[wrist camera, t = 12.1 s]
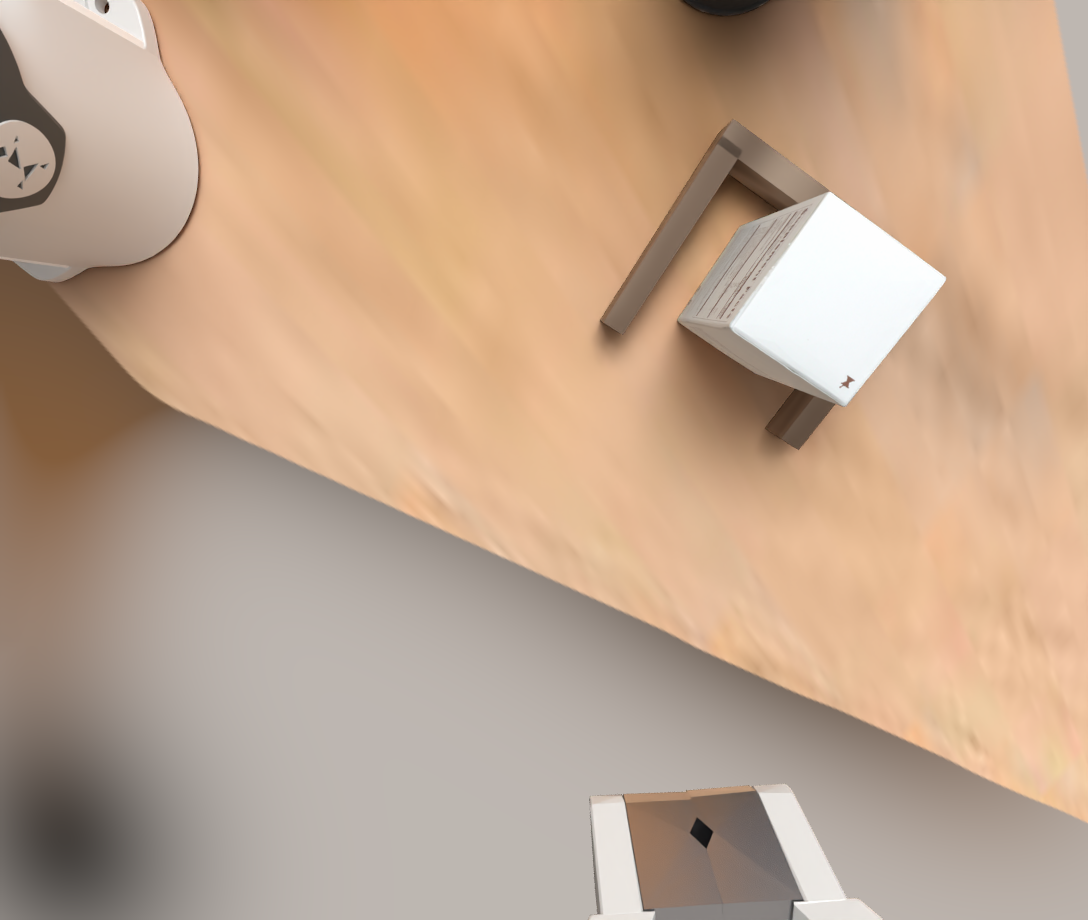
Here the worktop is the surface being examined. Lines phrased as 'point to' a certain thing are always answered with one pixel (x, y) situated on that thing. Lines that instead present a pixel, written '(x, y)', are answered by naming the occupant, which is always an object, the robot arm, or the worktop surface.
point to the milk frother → (725, 6)
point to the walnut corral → (726, 155)
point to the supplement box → (812, 297)
